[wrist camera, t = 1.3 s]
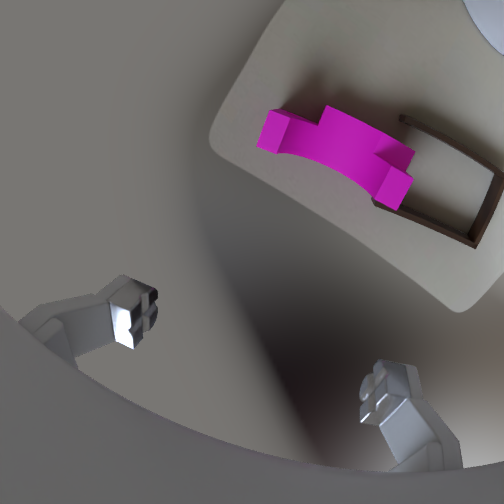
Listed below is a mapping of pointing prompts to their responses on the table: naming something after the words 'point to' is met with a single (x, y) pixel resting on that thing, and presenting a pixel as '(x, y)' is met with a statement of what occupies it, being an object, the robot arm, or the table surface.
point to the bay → (487, 209)
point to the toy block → (343, 150)
